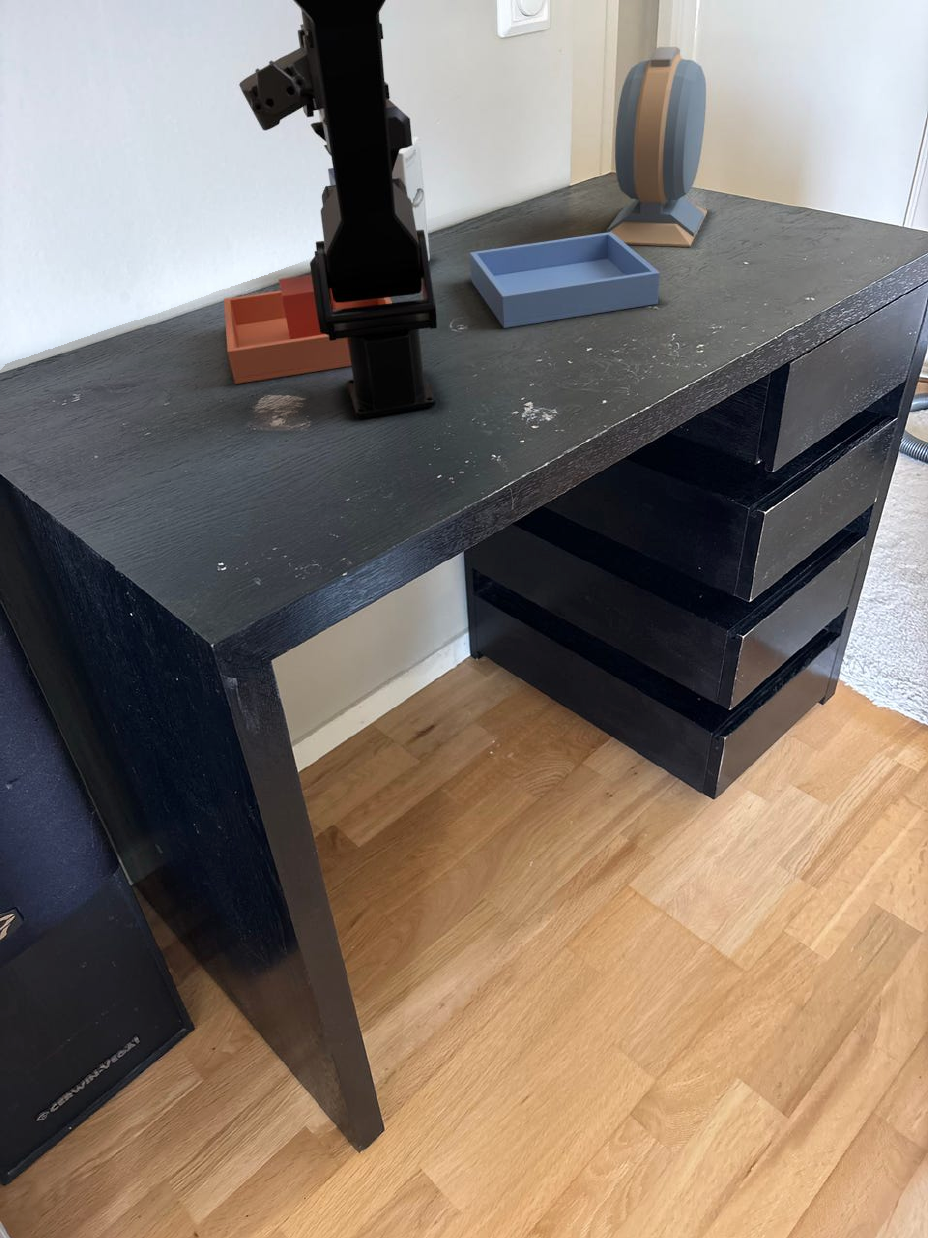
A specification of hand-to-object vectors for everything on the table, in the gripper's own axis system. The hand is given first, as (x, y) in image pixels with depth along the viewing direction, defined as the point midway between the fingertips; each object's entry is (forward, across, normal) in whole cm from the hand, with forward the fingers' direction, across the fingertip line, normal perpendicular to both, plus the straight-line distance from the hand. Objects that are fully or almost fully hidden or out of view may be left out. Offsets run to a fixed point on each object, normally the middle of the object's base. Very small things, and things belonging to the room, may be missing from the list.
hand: (365, 219), depth 81 cm
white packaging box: (+10, -15, +4) cm, 19 cm away
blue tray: (+10, -2, +19) cm, 21 cm away
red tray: (+10, 0, -6) cm, 12 cm away
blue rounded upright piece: (+10, -16, +35) cm, 40 cm away
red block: (+10, 0, -6) cm, 11 cm away
